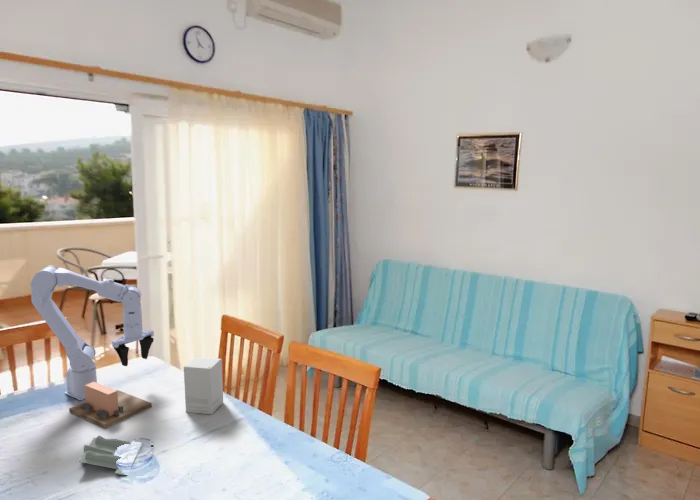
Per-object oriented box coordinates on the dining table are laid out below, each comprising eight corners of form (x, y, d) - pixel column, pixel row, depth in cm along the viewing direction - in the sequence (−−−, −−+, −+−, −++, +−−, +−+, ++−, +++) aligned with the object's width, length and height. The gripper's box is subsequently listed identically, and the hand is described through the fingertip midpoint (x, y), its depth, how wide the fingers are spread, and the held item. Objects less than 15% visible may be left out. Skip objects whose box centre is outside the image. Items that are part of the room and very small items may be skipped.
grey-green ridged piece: (73, 458, 123) (95, 427, 138) (67, 479, 124) (90, 446, 138) (134, 469, 126) (149, 438, 140) (128, 491, 126) (143, 457, 141)
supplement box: (224, 402, 165) (223, 358, 163) (212, 415, 157) (210, 368, 154) (198, 399, 167) (196, 355, 165) (184, 412, 158) (182, 366, 156)
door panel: (85, 406, 158) (84, 384, 157) (95, 402, 161) (93, 381, 160) (109, 416, 152) (108, 394, 151) (118, 412, 155) (117, 390, 154)
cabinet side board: (69, 411, 157) (68, 403, 157) (116, 392, 171) (116, 385, 170) (104, 428, 148) (104, 419, 148) (151, 406, 161) (151, 398, 161)
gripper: (120, 330, 163) (123, 371, 165) (158, 319, 175) (160, 357, 177) (107, 327, 167) (109, 366, 169) (145, 316, 179) (147, 353, 181)
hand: (134, 361), depth 173 cm, fingers open, 7 cm apart
